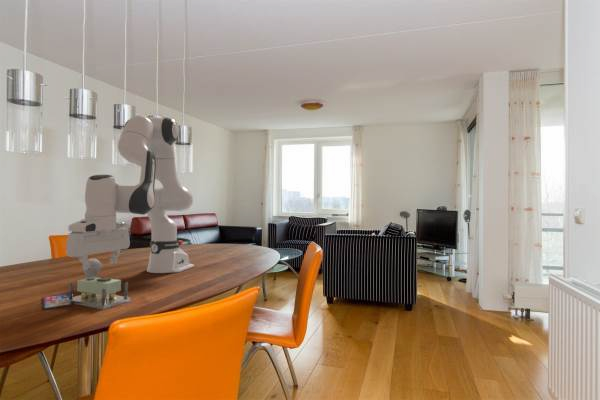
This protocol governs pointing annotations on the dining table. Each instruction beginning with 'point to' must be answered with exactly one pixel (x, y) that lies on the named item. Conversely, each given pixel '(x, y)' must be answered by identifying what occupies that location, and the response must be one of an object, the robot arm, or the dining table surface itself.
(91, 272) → the lightbulb
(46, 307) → the smartphone
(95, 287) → the green block with holes
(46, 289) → the dining table surface
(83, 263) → the robot arm
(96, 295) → the chassis
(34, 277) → the dining table surface
